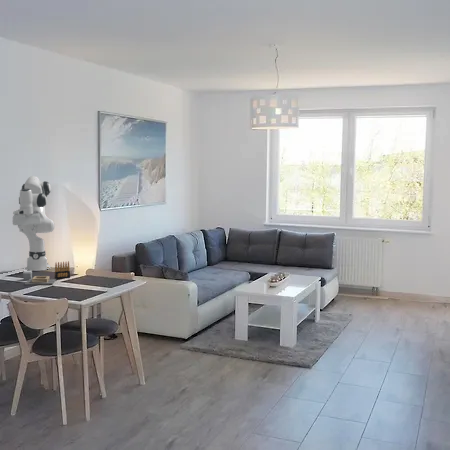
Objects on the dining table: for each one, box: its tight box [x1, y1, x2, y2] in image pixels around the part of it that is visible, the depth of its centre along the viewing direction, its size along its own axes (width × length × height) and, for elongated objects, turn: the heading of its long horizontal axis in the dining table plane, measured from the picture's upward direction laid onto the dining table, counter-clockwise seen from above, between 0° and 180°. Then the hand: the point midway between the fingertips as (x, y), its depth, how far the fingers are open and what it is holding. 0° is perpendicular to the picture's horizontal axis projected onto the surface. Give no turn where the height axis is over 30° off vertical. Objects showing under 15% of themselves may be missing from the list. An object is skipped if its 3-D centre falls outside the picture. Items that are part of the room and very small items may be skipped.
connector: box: [22, 270, 33, 281], centre depth 414 cm, size 4×5×6 cm
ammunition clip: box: [54, 260, 71, 280], centre depth 421 cm, size 11×2×12 cm, turn 120°
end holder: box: [24, 275, 57, 286], centre depth 405 cm, size 16×18×4 cm
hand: (27, 231), depth 416 cm, fingers open, 8 cm apart
